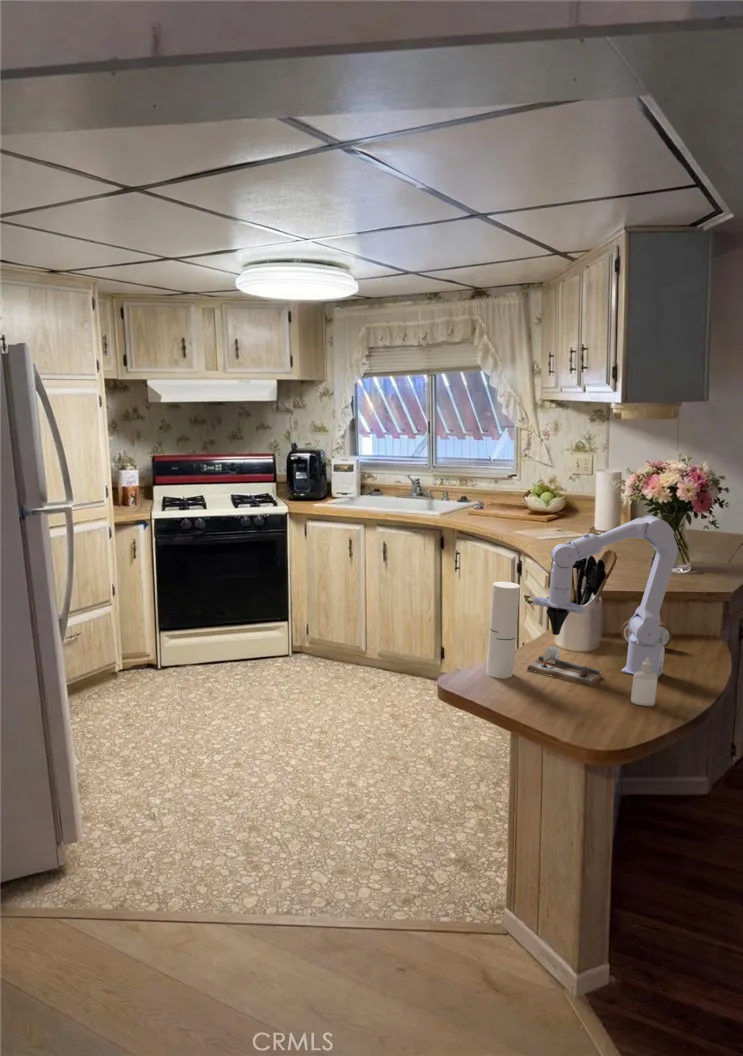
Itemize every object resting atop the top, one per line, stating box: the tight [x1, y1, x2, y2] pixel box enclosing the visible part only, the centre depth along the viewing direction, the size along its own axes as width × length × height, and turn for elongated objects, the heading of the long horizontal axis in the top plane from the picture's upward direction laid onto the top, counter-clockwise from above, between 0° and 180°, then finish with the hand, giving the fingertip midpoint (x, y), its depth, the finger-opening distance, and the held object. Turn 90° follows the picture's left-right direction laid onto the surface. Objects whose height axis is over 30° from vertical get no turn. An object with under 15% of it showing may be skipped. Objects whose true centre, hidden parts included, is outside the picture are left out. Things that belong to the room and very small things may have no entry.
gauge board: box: [527, 655, 603, 687], centre depth 208 cm, size 18×9×3 cm, turn 56°
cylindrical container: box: [485, 581, 521, 679], centre depth 204 cm, size 7×7×25 cm
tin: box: [620, 618, 673, 649], centre depth 235 cm, size 15×3×8 cm, turn 72°
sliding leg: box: [543, 645, 561, 666], centre depth 211 cm, size 3×7×4 cm, turn 146°
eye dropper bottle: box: [630, 658, 659, 707], centre depth 189 cm, size 4×6×12 cm
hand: (556, 634), depth 213 cm, fingers closed
